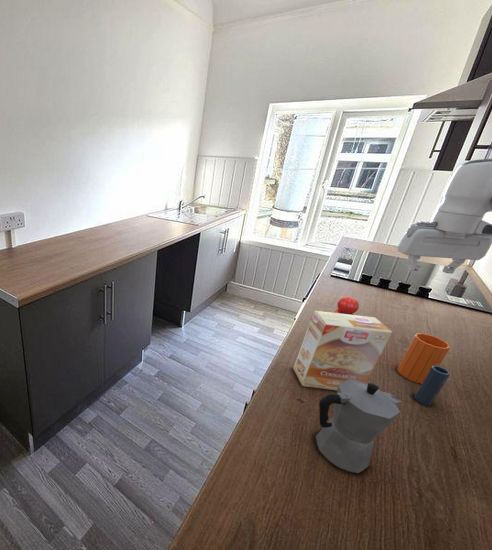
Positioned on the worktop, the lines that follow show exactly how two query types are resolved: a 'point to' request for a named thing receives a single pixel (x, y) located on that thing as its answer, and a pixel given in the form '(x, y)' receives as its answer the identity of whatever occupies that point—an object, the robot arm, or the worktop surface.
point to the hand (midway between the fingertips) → (429, 271)
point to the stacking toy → (347, 306)
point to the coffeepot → (354, 423)
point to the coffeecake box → (339, 349)
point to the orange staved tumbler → (422, 356)
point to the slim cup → (431, 385)
